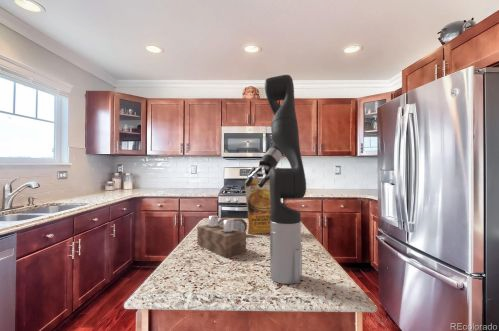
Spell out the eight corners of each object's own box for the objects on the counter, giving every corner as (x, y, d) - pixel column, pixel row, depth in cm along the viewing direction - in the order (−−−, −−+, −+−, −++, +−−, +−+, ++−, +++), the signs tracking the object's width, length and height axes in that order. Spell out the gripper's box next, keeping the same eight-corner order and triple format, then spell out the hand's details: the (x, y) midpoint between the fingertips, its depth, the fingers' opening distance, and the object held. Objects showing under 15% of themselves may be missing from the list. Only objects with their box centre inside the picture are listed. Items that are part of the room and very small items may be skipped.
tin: (247, 234, 126) (247, 217, 127) (246, 236, 123) (246, 219, 123) (217, 233, 128) (217, 217, 128) (216, 235, 125) (216, 218, 125)
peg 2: (235, 240, 100) (235, 220, 100) (227, 242, 98) (227, 221, 98) (229, 238, 103) (229, 218, 103) (221, 240, 101) (221, 220, 101)
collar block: (245, 252, 100) (246, 231, 100) (225, 257, 93) (225, 236, 93) (216, 240, 116) (216, 223, 116) (197, 244, 109) (197, 226, 109)
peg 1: (219, 234, 109) (219, 216, 109) (211, 236, 106) (212, 217, 106) (214, 233, 112) (214, 215, 112) (206, 234, 109) (207, 216, 109)
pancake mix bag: (243, 231, 132) (243, 178, 132) (277, 229, 136) (277, 178, 136) (245, 235, 125) (245, 178, 126) (281, 232, 130) (281, 178, 130)
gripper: (256, 154, 121) (237, 179, 113) (278, 153, 110) (259, 180, 102) (263, 165, 124) (246, 190, 117) (286, 165, 114) (269, 192, 106)
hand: (252, 185), depth 110 cm, fingers open, 8 cm apart
